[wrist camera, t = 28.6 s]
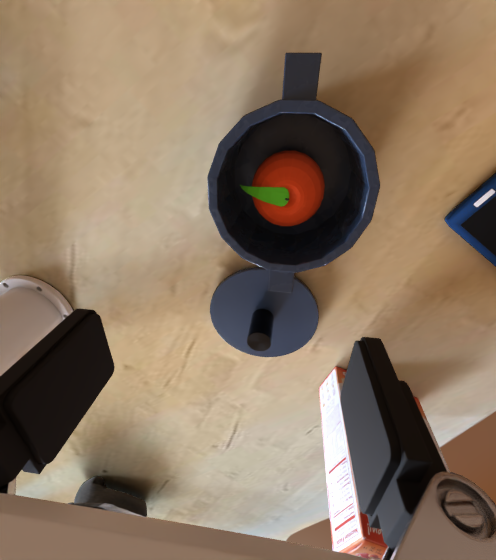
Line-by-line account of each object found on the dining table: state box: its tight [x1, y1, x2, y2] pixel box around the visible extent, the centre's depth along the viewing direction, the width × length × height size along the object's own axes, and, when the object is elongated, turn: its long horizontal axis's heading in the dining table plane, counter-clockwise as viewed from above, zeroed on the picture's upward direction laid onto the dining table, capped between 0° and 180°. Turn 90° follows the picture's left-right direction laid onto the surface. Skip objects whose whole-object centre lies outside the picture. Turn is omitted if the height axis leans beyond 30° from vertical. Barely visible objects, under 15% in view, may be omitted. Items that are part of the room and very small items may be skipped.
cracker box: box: [319, 366, 450, 560], centre depth 35 cm, size 14×6×21 cm, turn 70°
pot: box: [208, 53, 380, 293], centre depth 27 cm, size 14×19×8 cm
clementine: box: [240, 151, 325, 226], centre depth 27 cm, size 8×7×7 cm
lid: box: [210, 267, 319, 357], centre depth 37 cm, size 15×15×6 cm
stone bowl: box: [68, 476, 147, 517], centre depth 73 cm, size 25×25×9 cm
